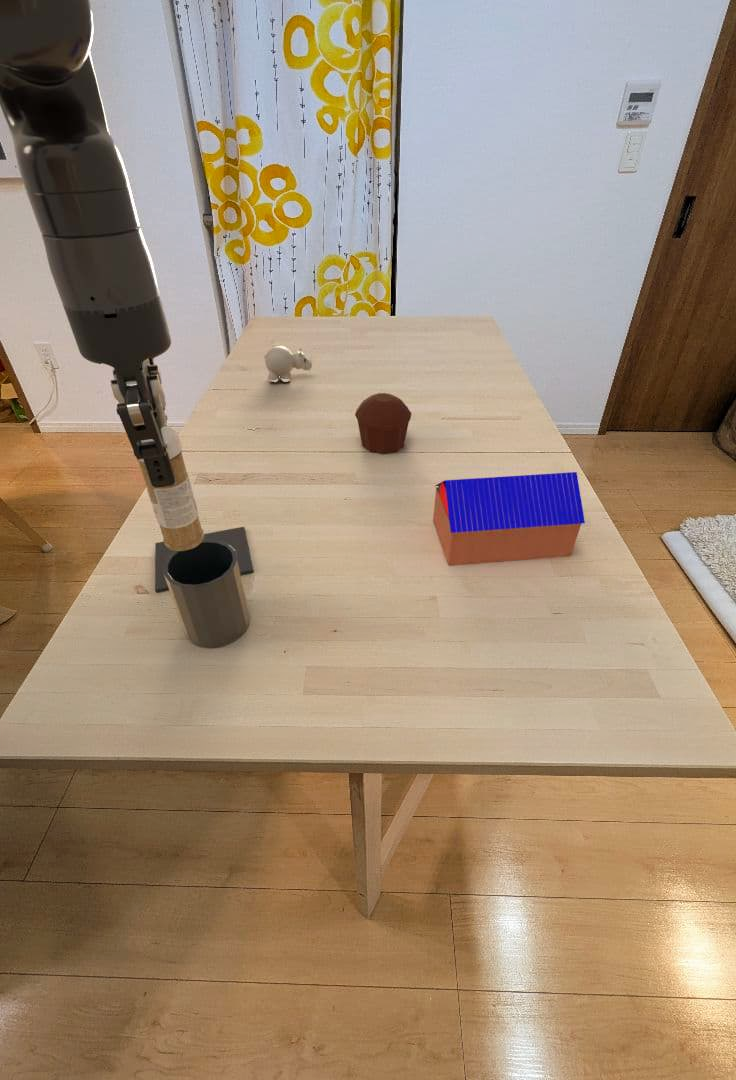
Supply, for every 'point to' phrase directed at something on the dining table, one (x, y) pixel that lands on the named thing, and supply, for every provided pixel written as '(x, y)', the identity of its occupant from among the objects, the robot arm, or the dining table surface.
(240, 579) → the cup
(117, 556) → the dining table surface
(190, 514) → the sprinkles bottle
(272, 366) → the chubby cartoon animal
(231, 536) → the mat
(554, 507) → the house
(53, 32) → the robot arm
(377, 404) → the muffin
